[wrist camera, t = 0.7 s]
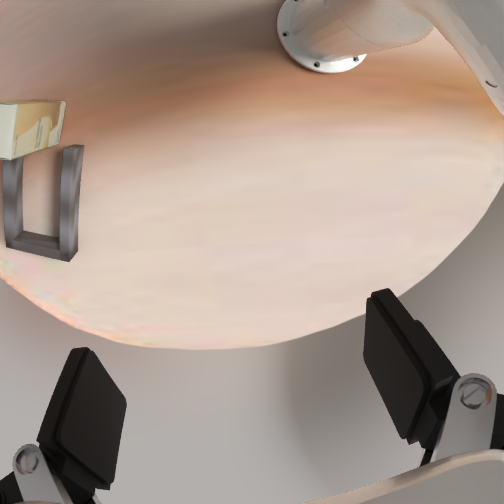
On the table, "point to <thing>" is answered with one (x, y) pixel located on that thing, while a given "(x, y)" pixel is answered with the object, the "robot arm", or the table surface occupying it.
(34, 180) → the table surface
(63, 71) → the table surface
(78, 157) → the u rest
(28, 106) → the skincare box
